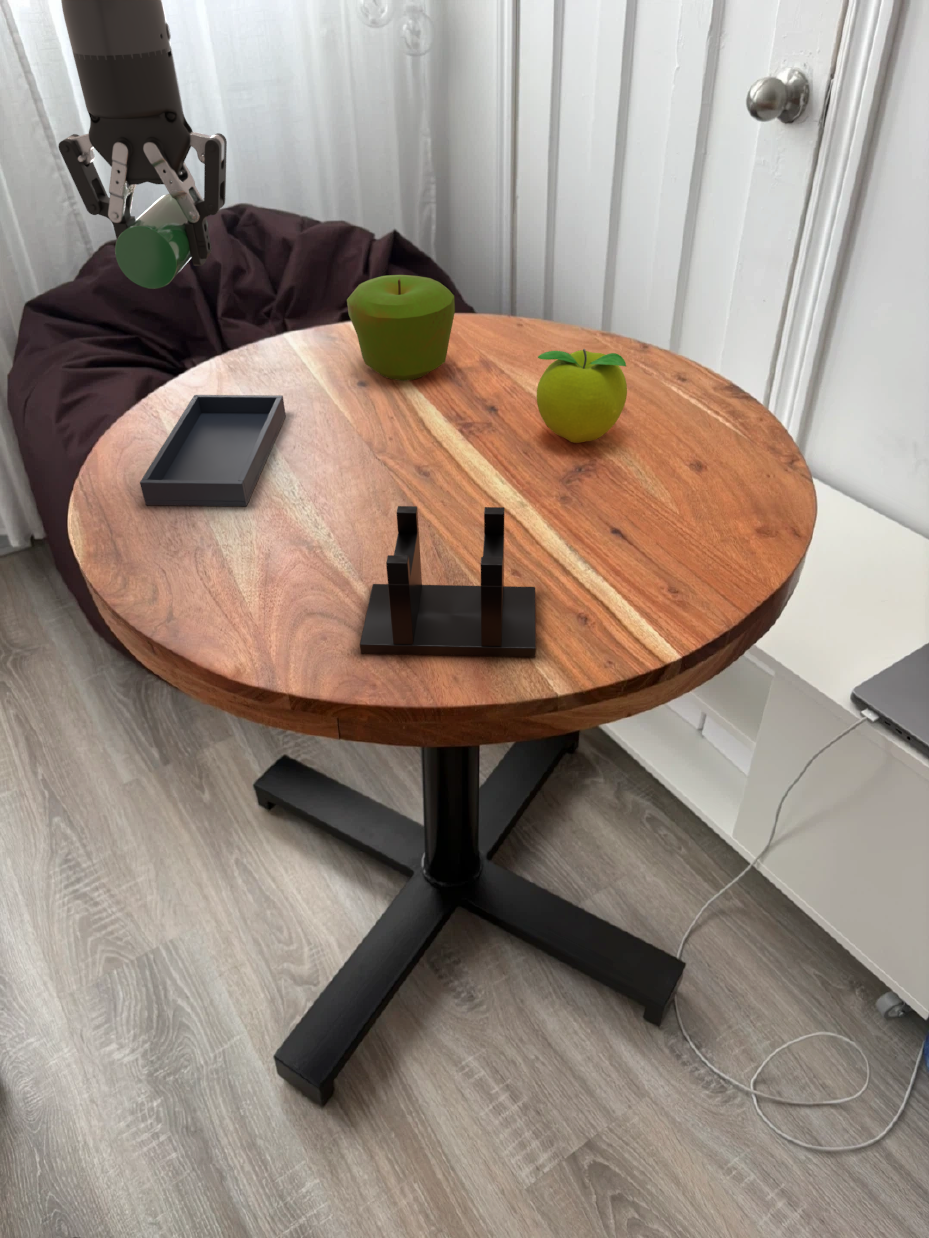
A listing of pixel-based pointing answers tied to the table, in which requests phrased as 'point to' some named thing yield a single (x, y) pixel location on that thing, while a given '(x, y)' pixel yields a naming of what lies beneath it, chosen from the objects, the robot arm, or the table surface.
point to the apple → (402, 324)
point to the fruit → (581, 393)
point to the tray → (215, 451)
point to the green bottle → (154, 245)
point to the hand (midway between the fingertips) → (168, 262)
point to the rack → (449, 603)
